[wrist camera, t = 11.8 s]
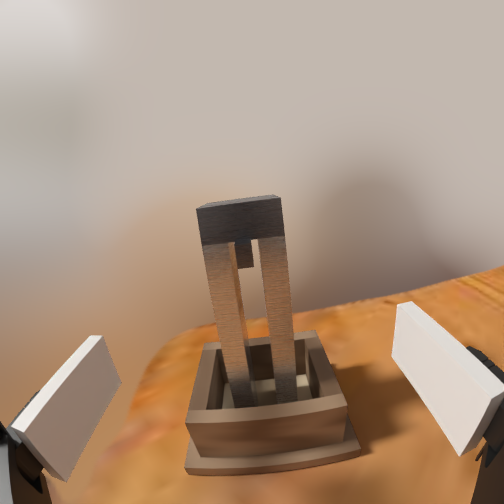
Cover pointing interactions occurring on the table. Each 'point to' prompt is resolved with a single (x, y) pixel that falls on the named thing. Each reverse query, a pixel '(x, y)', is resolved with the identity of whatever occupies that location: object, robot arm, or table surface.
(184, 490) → the table surface
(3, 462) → the robot arm
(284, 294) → the steel tongs
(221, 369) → the box
